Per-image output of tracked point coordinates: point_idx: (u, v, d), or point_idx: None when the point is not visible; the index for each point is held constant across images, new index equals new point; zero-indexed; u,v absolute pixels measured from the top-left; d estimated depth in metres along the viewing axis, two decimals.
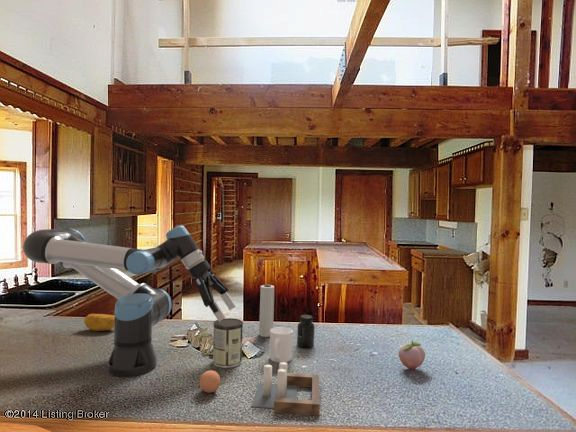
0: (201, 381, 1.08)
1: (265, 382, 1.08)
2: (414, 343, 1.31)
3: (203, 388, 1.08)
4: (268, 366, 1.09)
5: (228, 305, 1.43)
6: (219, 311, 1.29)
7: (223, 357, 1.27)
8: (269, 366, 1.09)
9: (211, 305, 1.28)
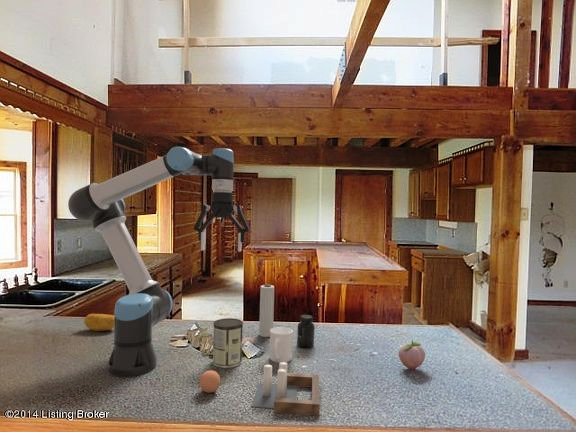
0: (201, 381, 1.08)
1: (265, 382, 1.08)
2: (414, 343, 1.31)
3: (203, 388, 1.08)
4: (268, 366, 1.09)
5: None
6: None
7: (223, 357, 1.27)
8: (269, 366, 1.09)
9: None
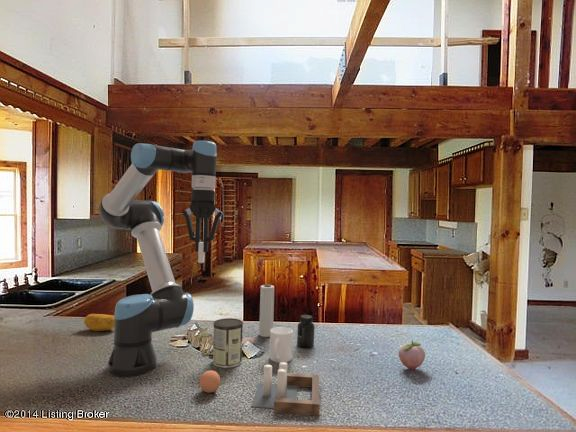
0: (201, 381, 1.08)
1: (265, 382, 1.08)
2: (414, 343, 1.31)
3: (203, 388, 1.08)
4: (268, 366, 1.09)
5: None
6: None
7: (223, 357, 1.27)
8: (269, 366, 1.09)
9: None
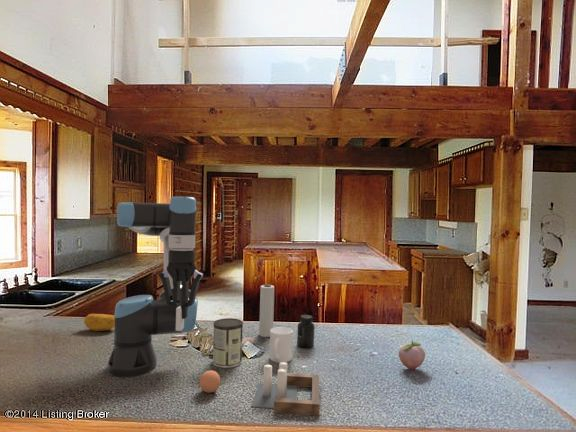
0: (201, 381, 1.08)
1: (265, 382, 1.08)
2: (414, 343, 1.31)
3: (203, 388, 1.08)
4: (268, 366, 1.09)
5: None
6: None
7: (223, 357, 1.27)
8: (269, 366, 1.09)
9: None
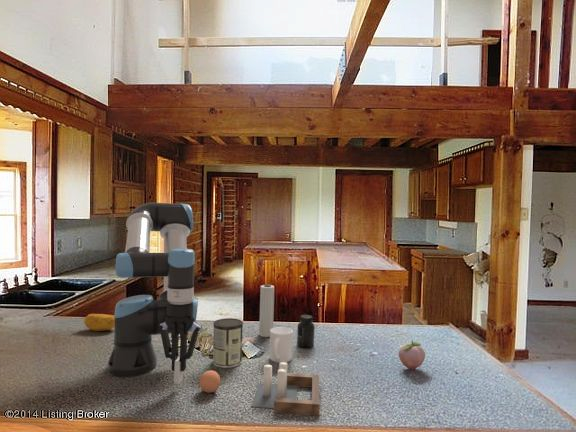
0: (201, 381, 1.08)
1: (265, 382, 1.08)
2: (414, 343, 1.31)
3: (203, 388, 1.08)
4: (268, 366, 1.09)
5: None
6: None
7: (223, 357, 1.27)
8: (269, 366, 1.09)
9: None
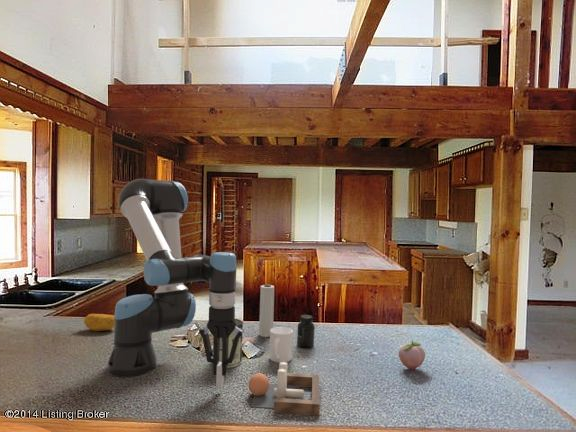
0: (255, 394, 1.07)
1: (288, 393, 1.07)
2: (414, 343, 1.31)
3: (261, 392, 1.06)
4: None
5: None
6: None
7: None
8: None
9: None
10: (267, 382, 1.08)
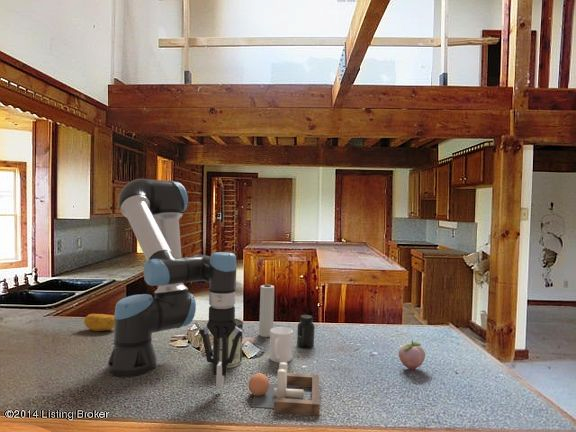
0: (255, 394, 1.07)
1: (288, 393, 1.07)
2: (414, 343, 1.31)
3: (261, 392, 1.06)
4: None
5: None
6: None
7: None
8: None
9: None
10: (267, 382, 1.08)
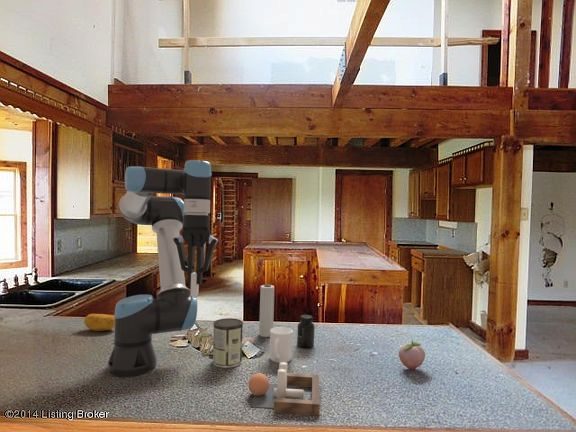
0: (255, 394, 1.07)
1: (288, 394, 1.07)
2: (414, 343, 1.31)
3: (261, 392, 1.06)
4: None
5: None
6: None
7: (223, 357, 1.27)
8: None
9: None
10: (267, 382, 1.08)
